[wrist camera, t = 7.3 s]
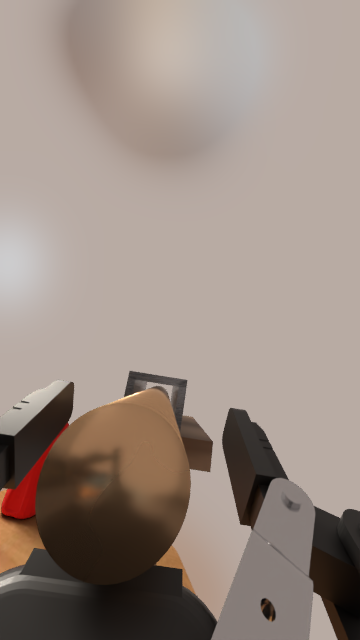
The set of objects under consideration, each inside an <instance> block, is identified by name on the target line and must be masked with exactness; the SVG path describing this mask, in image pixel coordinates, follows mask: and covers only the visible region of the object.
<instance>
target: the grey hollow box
mask: <svg viewBox="0 0 360 640" xmlns="http://www.w3.org/2000/svg"><path fill="white" fill-rule="evenodd" d="M147 382H154V383H160V384H166V385H172V386H173V389H172V396H171V406H172V409H173V412H174V415H175V419H176V422H177V425H178V428H179V432H180V430H181V422H182V414H183V408H184V400H185V393H186V386H187V380H183V379H177V378H170V377H164V376H158V375H152V374H146V373H140V372H133V371H130V372H129V377H128V381H127V386H126V390H125V395H124V398H125V397H128V396H130V395H133V394H136V393H139V392H141V391H144V390H145V389H146V385H147Z"/></svg>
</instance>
